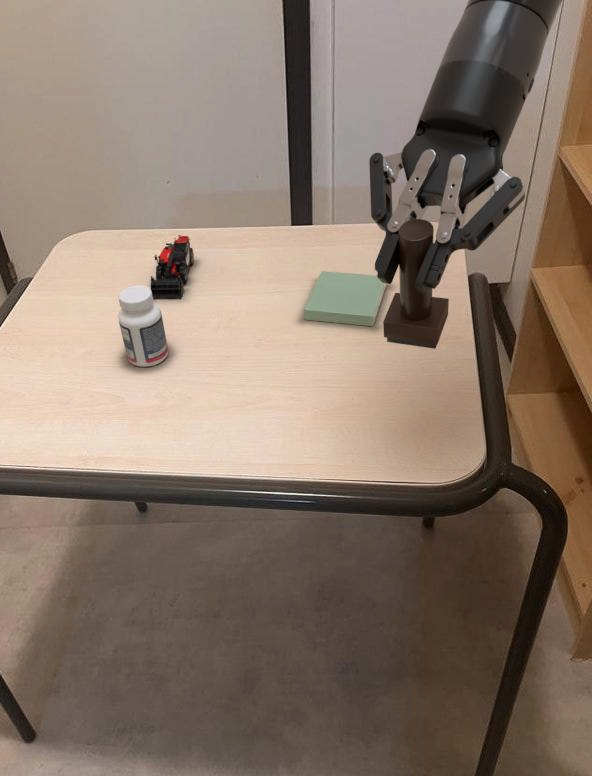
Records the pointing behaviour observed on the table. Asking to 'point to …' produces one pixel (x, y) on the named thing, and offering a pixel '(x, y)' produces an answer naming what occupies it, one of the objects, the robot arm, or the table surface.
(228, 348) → the table surface
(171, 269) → the loader
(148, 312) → the pill bottle
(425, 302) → the brown peg on base
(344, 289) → the tile
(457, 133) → the robot arm
